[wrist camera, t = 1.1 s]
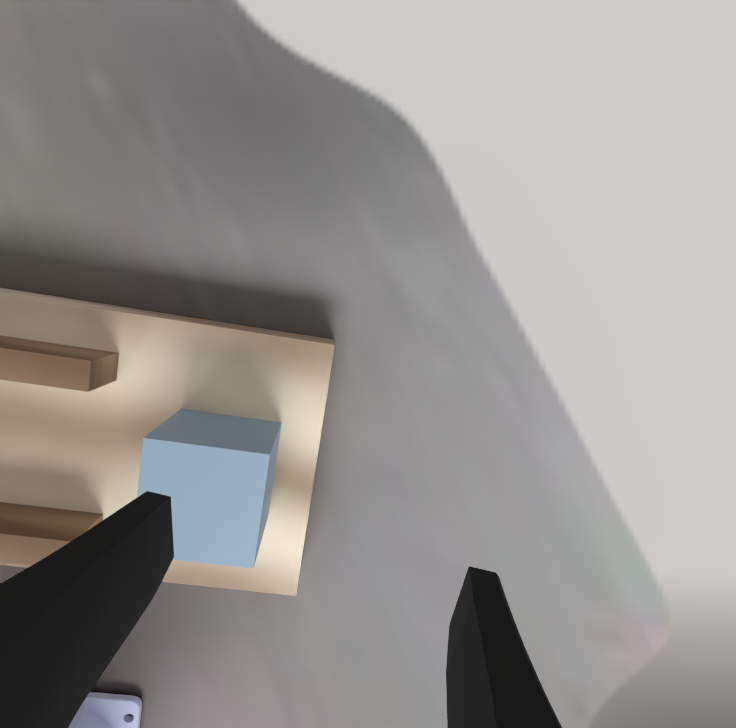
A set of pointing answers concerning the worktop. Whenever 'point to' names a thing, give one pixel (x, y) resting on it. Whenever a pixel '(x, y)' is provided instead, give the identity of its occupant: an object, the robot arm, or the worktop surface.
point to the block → (213, 483)
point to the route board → (144, 421)
